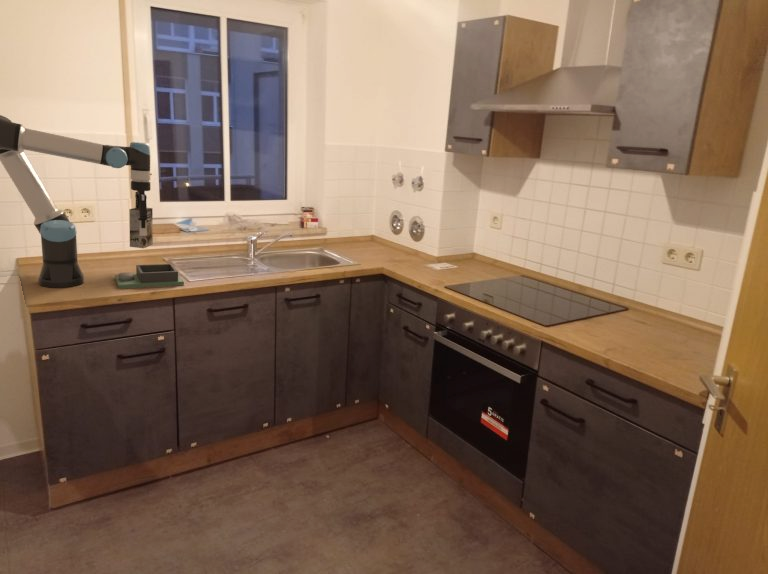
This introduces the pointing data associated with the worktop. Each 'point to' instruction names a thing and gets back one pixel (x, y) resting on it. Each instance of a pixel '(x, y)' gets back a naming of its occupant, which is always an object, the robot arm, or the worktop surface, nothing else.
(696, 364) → the worktop surface
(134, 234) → the coffee box
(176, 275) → the deck
